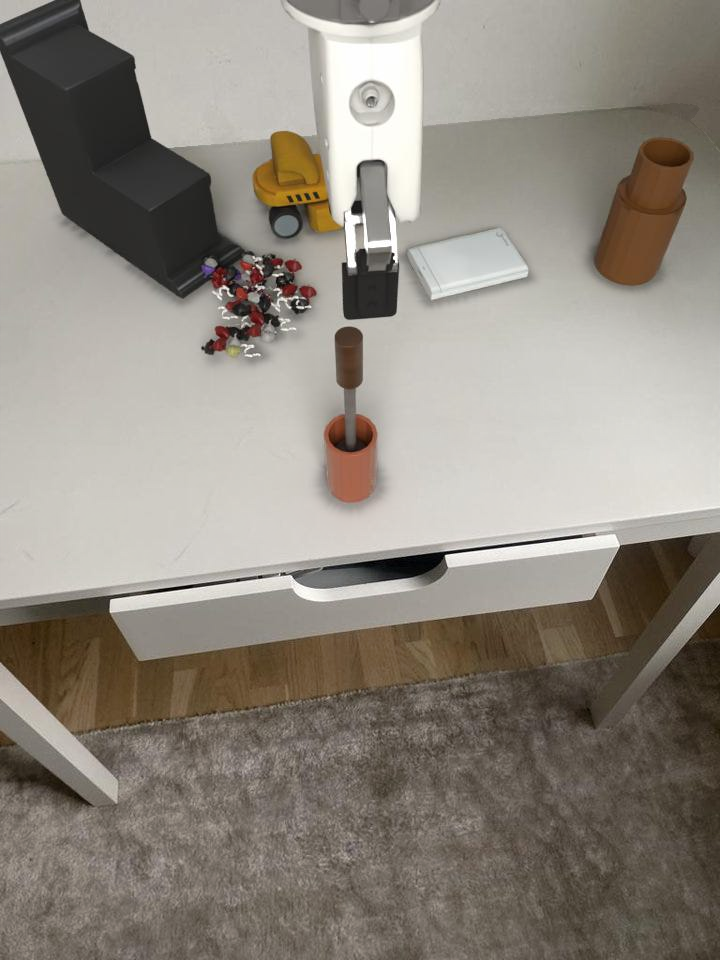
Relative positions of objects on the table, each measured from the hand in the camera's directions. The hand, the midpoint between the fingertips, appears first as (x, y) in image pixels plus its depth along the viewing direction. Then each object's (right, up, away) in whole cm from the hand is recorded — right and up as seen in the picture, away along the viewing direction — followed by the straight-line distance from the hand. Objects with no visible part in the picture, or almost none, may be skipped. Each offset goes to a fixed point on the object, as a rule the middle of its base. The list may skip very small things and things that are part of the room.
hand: (360, 260), depth 49 cm
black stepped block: (-26, +17, +48) cm, 57 cm away
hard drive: (+13, +12, +44) cm, 48 cm away
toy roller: (-6, +20, +50) cm, 54 cm away
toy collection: (-12, +5, +40) cm, 42 cm away
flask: (+32, +12, +44) cm, 56 cm away
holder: (-1, -14, +27) cm, 31 cm away
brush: (-1, -14, +27) cm, 30 cm away
